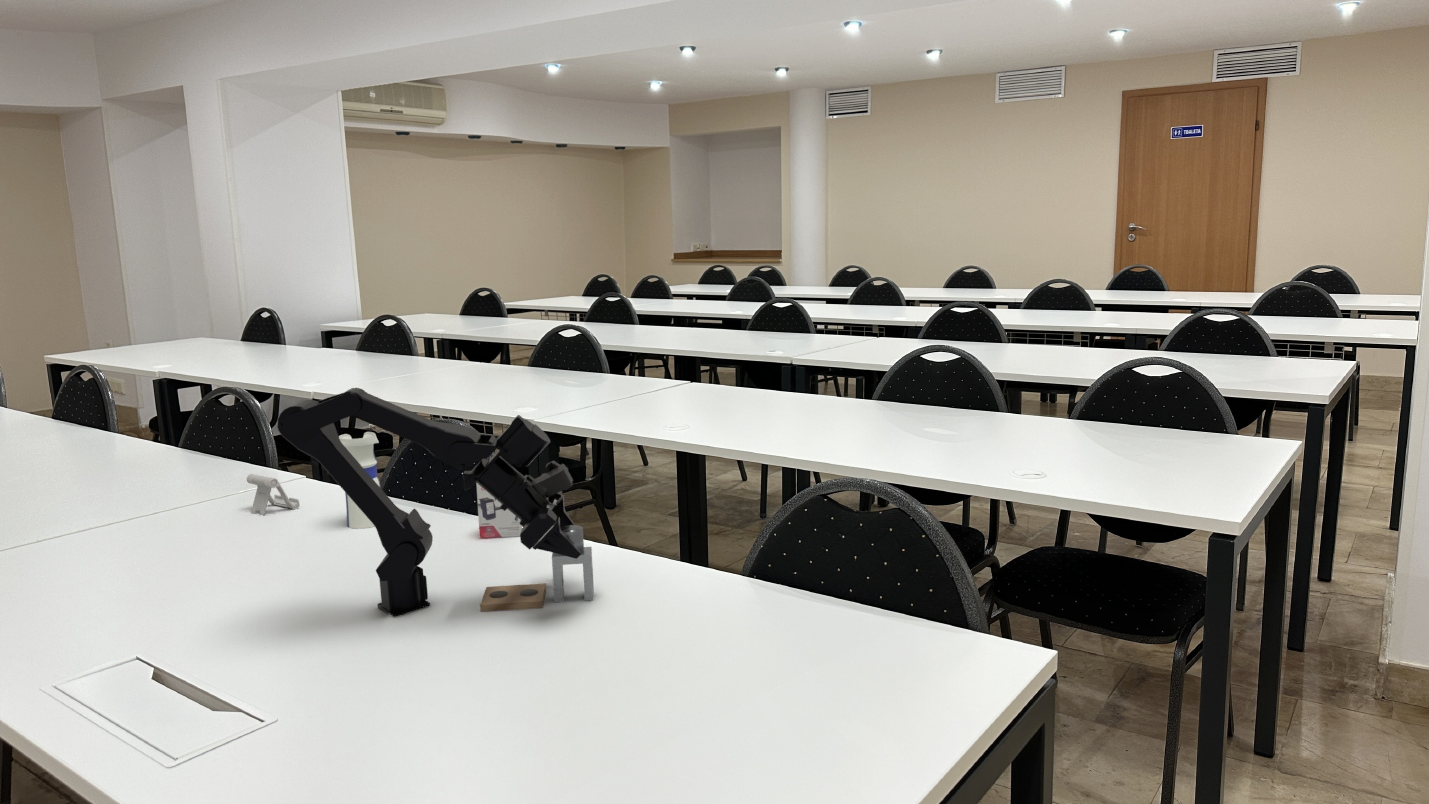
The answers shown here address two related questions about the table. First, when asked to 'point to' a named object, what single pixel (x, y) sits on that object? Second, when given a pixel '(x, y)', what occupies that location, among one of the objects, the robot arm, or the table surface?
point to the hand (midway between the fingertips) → (580, 547)
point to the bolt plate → (513, 597)
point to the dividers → (585, 558)
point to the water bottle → (366, 458)
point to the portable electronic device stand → (264, 495)
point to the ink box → (495, 517)
